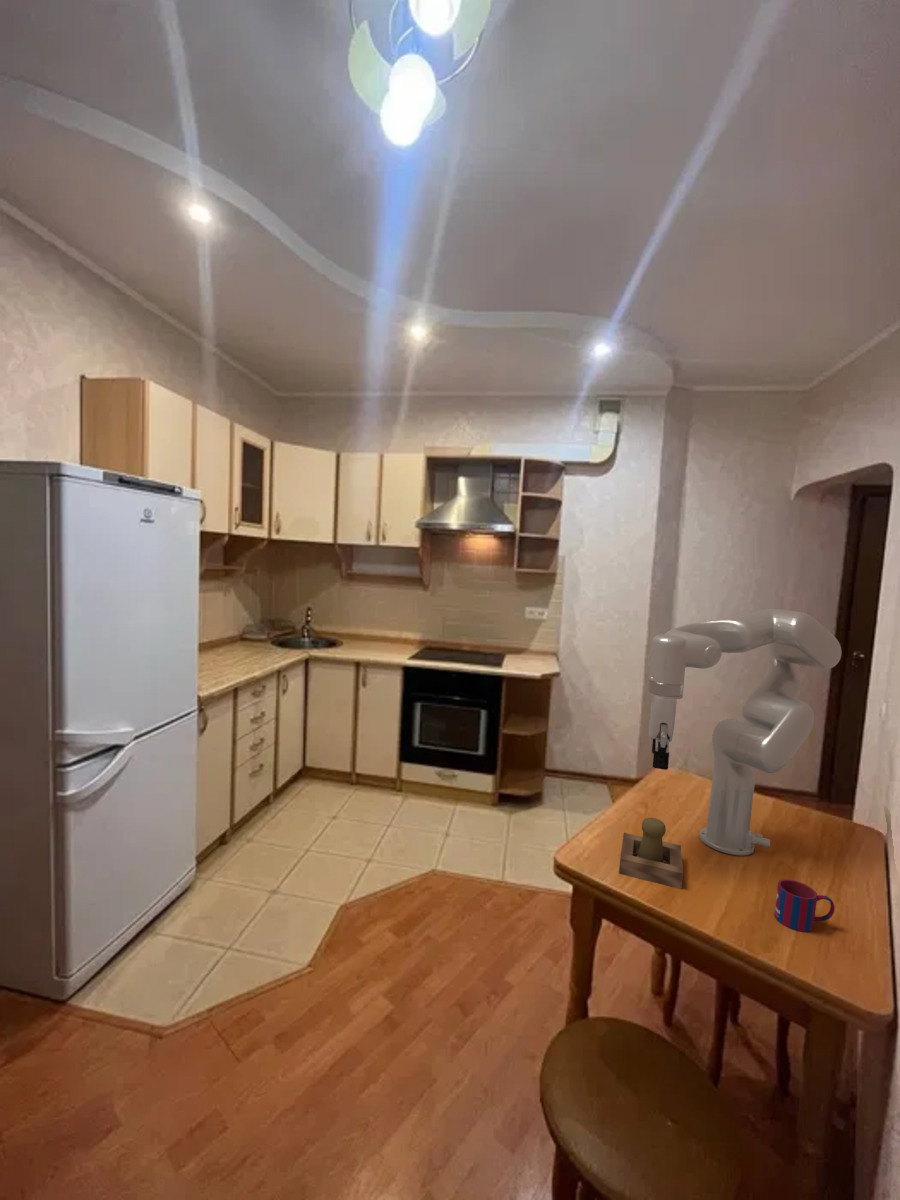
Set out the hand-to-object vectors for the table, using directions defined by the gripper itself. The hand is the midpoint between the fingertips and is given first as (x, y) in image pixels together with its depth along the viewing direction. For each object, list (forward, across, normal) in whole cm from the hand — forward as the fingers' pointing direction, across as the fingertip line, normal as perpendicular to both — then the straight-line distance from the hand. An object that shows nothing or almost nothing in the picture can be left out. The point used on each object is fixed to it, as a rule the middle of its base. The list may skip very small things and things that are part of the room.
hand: (659, 760), depth 131 cm
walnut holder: (+24, +4, 0) cm, 24 cm away
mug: (+24, +13, +28) cm, 40 cm away
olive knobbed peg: (+24, +4, 0) cm, 24 cm away
